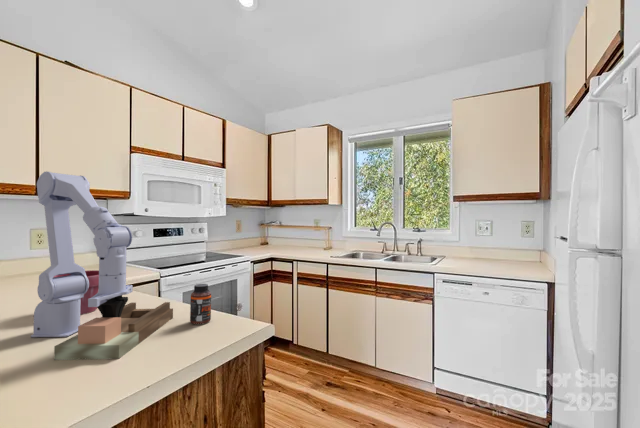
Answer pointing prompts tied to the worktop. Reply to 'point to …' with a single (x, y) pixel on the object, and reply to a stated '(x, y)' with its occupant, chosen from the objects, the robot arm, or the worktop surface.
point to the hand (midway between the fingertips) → (111, 327)
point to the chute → (132, 333)
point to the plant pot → (92, 290)
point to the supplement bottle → (200, 304)
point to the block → (99, 330)
